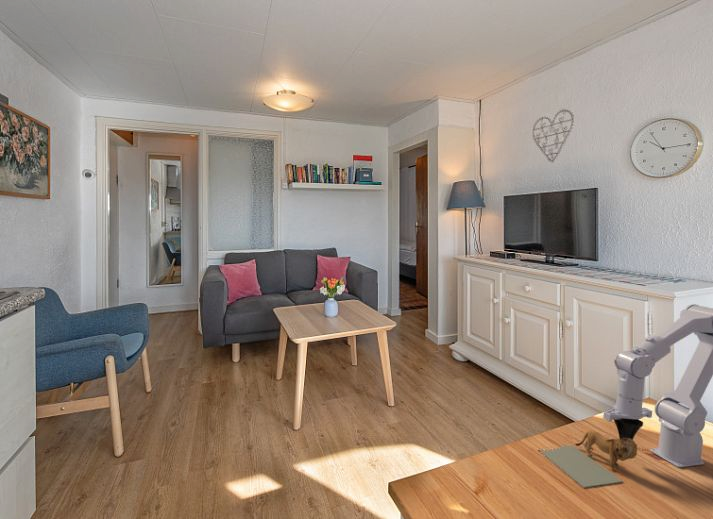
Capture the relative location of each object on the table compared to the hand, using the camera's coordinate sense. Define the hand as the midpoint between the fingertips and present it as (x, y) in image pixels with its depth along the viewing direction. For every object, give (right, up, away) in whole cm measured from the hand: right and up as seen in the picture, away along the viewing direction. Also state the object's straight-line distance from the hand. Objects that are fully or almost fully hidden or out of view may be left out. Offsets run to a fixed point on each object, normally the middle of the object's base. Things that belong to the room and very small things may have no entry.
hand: (625, 443), depth 102 cm
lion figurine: (-7, -5, -1) cm, 8 cm away
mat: (-15, -4, -3) cm, 16 cm away
